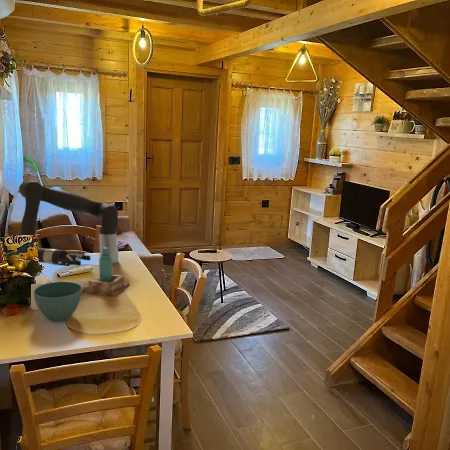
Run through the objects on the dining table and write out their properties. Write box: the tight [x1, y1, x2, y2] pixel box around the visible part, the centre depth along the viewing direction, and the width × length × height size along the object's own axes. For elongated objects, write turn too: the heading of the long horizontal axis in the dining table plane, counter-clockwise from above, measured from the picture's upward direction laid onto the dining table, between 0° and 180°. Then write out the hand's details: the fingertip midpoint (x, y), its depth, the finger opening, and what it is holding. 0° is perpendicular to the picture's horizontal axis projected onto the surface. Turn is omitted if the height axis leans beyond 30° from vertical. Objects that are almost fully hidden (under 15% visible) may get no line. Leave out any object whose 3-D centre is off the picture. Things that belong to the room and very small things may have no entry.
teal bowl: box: [34, 281, 83, 323], centre depth 185 cm, size 18×18×12 cm
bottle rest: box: [82, 274, 130, 298], centre depth 219 cm, size 16×16×5 cm
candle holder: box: [29, 275, 53, 311], centre depth 195 cm, size 10×10×12 cm
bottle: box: [98, 247, 114, 283], centre depth 217 cm, size 6×6×19 cm
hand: (85, 260), depth 219 cm, fingers open, 8 cm apart
